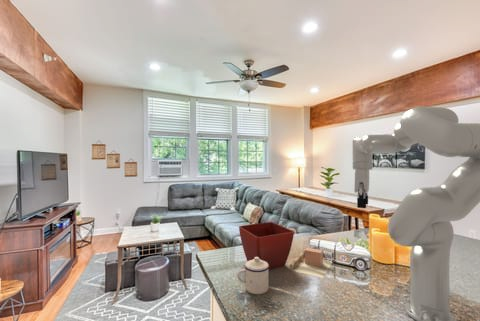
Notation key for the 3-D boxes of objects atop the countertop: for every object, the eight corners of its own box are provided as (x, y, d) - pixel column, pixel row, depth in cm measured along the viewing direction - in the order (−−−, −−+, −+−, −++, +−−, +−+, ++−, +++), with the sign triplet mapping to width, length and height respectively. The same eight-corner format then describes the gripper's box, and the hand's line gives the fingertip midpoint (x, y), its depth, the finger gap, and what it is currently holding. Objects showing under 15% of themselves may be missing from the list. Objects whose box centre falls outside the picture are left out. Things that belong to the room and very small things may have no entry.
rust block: (305, 263, 111) (304, 250, 111) (307, 260, 114) (307, 247, 114) (320, 266, 107) (320, 253, 107) (322, 263, 110) (322, 250, 110)
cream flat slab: (323, 280, 97) (323, 272, 97) (289, 271, 104) (289, 264, 104) (333, 261, 115) (333, 255, 115) (304, 255, 122) (304, 249, 122)
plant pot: (295, 269, 107) (295, 231, 107) (258, 278, 99) (257, 237, 99) (271, 254, 124) (271, 221, 124) (238, 261, 116) (237, 226, 116)
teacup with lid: (266, 281, 96) (266, 252, 96) (271, 294, 87) (271, 262, 87) (236, 283, 95) (236, 253, 95) (238, 296, 86) (237, 263, 86)
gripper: (355, 165, 113) (355, 202, 113) (349, 166, 98) (350, 208, 98) (373, 165, 109) (374, 203, 109) (370, 166, 94) (371, 210, 94)
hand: (362, 205), depth 103 cm, fingers open, 9 cm apart
